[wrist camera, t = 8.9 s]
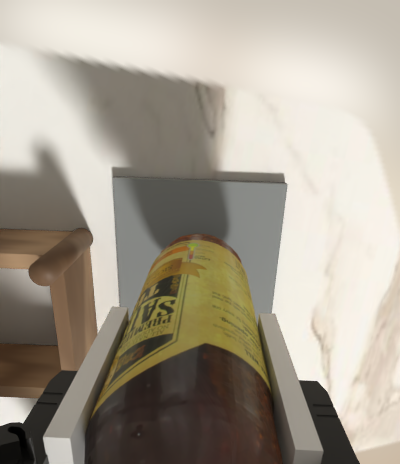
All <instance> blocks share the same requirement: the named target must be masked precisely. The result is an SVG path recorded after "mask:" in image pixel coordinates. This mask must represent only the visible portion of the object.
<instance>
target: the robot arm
mask: <svg viewBox="0 0 400 464" xmlns="http://www.w3.org/2000/svg"><path fill="white" fill-rule="evenodd" d="M128 323H129V312H128V307H112V308H111V310H110V312H109V314H108V316H107V318H106V320H105V322H104V323H103V325H102V327H101V329H100V331H99V333H98V335H97V337H96V338H95V340H94V342H93V344H92V346H91V348H90V350H89V352H88V353H87V355H86V357H85V359H84V361H83V363H82V365H81V367H80V368H79V370H78V371H68V370H62V371H60V372H59V373H58V374H57V375H56V376H55V377H53V378H52V379H51V380H50V381H49V383H48V385H47V386H46V388H45V389H44V391H43V394H42V395H41V396H40V397H39V399H38V401H37V403H36V405H35V406H34V407H33V409H32V410H31V412H30V414H29V415H28V417H27V418H26V420H25V422H24V423H23V424H22V423H20V422H18V423H9V424H6V425H3V426H0V464H84V460H85V434H86V430H87V426H88V424H89V421H90V418H91V416H92V413H93V411H94V408H95V406H96V403H97V401H98V398H99V395H100V392H101V390H102V388H103V385H104V383H105V380H106V378H107V375H108V373H109V370H110V368H111V365H112V363H113V360H114V358H115V355H116V353H117V350H118V347H119V345H120V343H121V341H122V338H123V335H124V332H125V330H126V328H127V326H128ZM258 331H259V336H260V340H261V345H262V350H263V354H264V359H265V363H266V368H267V373H268V378H269V383H270V388H271V393H272V397H273V404H274V413H273V418H274V424H275V428H276V432H277V438H278V442H279V446H280V450H281V455H282V461H283V464H360V463H359V461H358V459H357V457H356V455H355V453H354V451H353V449H352V446H351V444H350V442H349V440H348V437H347V435H346V433H345V431H344V428H343V426H342V424H341V422H340V419H339V418H338V415H337V413H336V410H335V408H333V404H332V401H331V399H330V397H329V395H328V392H327V391H326V390H325V389H324V388H323V387H322V386H321V385H320V384H319V383H318V382H317V381H301V380H298V377H297V375H296V372H295V369H294V366H293V363H292V360H291V358H290V355H289V352H288V349H287V346H286V343H285V341H284V338H283V335H282V332H281V329H280V326H279V324H278V321H277V318H276V315H275V314H270V313H259V318H258Z"/></svg>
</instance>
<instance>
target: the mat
mask: <svg viewBox="0 0 400 464" xmlns="http://www.w3.org/2000/svg"><path fill="white" fill-rule="evenodd" d="M113 192H114V209H115V227H116V244H117V261H118V279H119V296H120V307H128V312H129V320H130V318H131V316H132V313H133V310H134V308H135V305H136V303H137V301H138V298H139V296H140V293H141V291H142V288H143V286H144V283H145V281H146V278H147V276H148V273H149V271H150V268H151V266H152V264H153V263H154V261H155V259H156V258H157V257H158V256H159V255H160V254H161V251H162V250H164V249H165V248H166V247H167V246H168V245H169V244H170V243H172V242H173V241H174V240H176V239H177V238H179V237H182V236H185V235H190V234H197V233H199V234H208V235H212V236H215V237H217V238H219V239H221V240H223V241H224V242H226V243H227V244H228V245H229V246H230V247H231V248H232V249H233V250H234V251H235V252H236V253H237V254H238V256H239V258H240V259H241V263H242V266H243V268H244V269H245V271H246V274H247V278H248V284H249V288H250V293H251V297H252V302H253V306H254V311H255V317H256V322H257V327H258V318H259V313H270V314H271V313H272V305H273V297H274V289H275V281H276V273H277V264H278V256H279V248H280V240H281V232H282V224H283V216H284V208H285V200H286V192H287V184H286V183H279V182H251V181H224V180H197V179H170V178H142V177H113Z"/></svg>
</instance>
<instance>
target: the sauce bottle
mask: <svg viewBox="0 0 400 464" xmlns="http://www.w3.org/2000/svg"><path fill="white" fill-rule="evenodd" d="M273 413H274V404H273V397H272V393H271V388H270V383H269V378H268V373H267V368H266V363H265V359H264V354H263V350H262V345H261V340H260V336H259V331H258V327H257V322H256V317H255V311H254V306H253V302H252V297H251V293H250V288H249V284H248V278H247V274H246V271H245V269H244V268H243V266H242V263H241V259H240V258H239V256H238V254H237V253H236V252H235V251H234V250H233V249H232V248H231V247H230V246H229V245H228V244H227V243H226V242H224V241H223V240H221V239H219V238H217V237H215V236H212V235H208V234H199V233H197V234H190V235H185V236H182V237H179V238H177V239H176V240H174V241H173V242H172V243H170V244H169V245H168V246H167V247H166V248H165V249H164V250H162V251H161V254H160V255H159V256H158V257H157V258H156V259H155V261H154V263H153V264H152V266H151V268H150V271H149V273H148V276H147V278H146V281H145V283H144V286H143V288H142V291H141V293H140V296H139V298H138V301H137V303H136V305H135V308H134V310H133V313H132V316H131V318H130V320H129V323H128V326H127V328H126V330H125V332H124V335H123V338H122V341H121V343H120V345H119V347H118V350H117V353H116V355H115V358H114V360H113V363H112V365H111V368H110V370H109V373H108V375H107V378H106V380H105V383H104V385H103V388H102V390H101V392H100V395H99V398H98V401H97V403H96V406H95V408H94V411H93V413H92V416H91V418H90V421H89V424H88V426H87V430H86V434H85V460H84V464H283V461H282V455H281V450H280V446H279V442H278V438H277V432H276V428H275V424H274V418H273Z"/></svg>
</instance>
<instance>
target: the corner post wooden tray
mask: <svg viewBox="0 0 400 464" xmlns="http://www.w3.org/2000/svg"><path fill="white" fill-rule="evenodd" d="M92 242H93V236H92V234H91V233H90V232H89V231H88V230H87V229H84V228H78V229H76V230H75V231H73V232H71V231H45V230H20V229H0V268H13V269H29V271H28V272H29V276H30V278H31V280H32V281H33V282H34V283H36V284H38V285H40V286H49V285H50V290H51V298H52V305H53V312H54V319H55V327H56V334H57V341H58V346H50V345H27V344H4V343H0V397H19V398H39V397H40V396H41V395H42V394H43V391H44V389H45V388H46V386H47V385H48V383H49V381H50V380H51V379H52V378H53V377H55V376H56V375H57V374H58V373H59V372H60V371H62V370H68V371H78V370H79V368H80V367H81V365H82V363H83V361H84V359H85V357H86V355H87V353H88V352H89V350H90V348H91V346H92V344H93V342H94V340H95V338H96V337H97V324H96V313H95V301H94V290H93V278H92V267H91V256H90V245H91V244H92Z"/></svg>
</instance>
